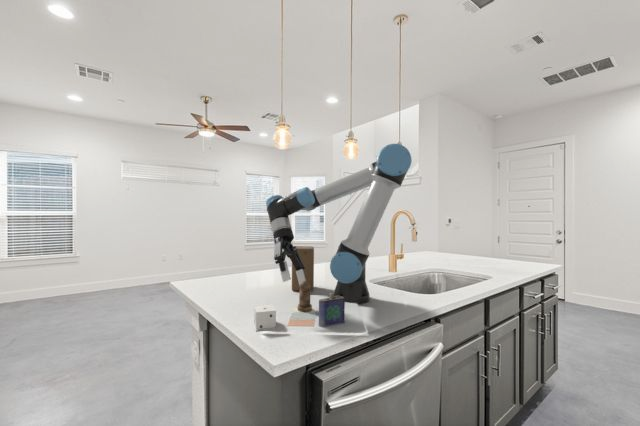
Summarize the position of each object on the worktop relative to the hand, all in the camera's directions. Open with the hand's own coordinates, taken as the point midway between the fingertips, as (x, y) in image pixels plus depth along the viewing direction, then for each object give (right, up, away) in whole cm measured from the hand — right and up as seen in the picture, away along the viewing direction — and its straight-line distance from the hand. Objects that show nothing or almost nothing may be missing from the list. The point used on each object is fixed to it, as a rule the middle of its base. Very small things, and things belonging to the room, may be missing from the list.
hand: (295, 283), depth 106 cm
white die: (-9, -11, -11) cm, 18 cm away
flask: (+12, -11, -10) cm, 20 cm away
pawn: (+3, -10, +4) cm, 11 cm away
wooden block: (0, -12, +37) cm, 39 cm away
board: (+3, -11, -3) cm, 12 cm away
